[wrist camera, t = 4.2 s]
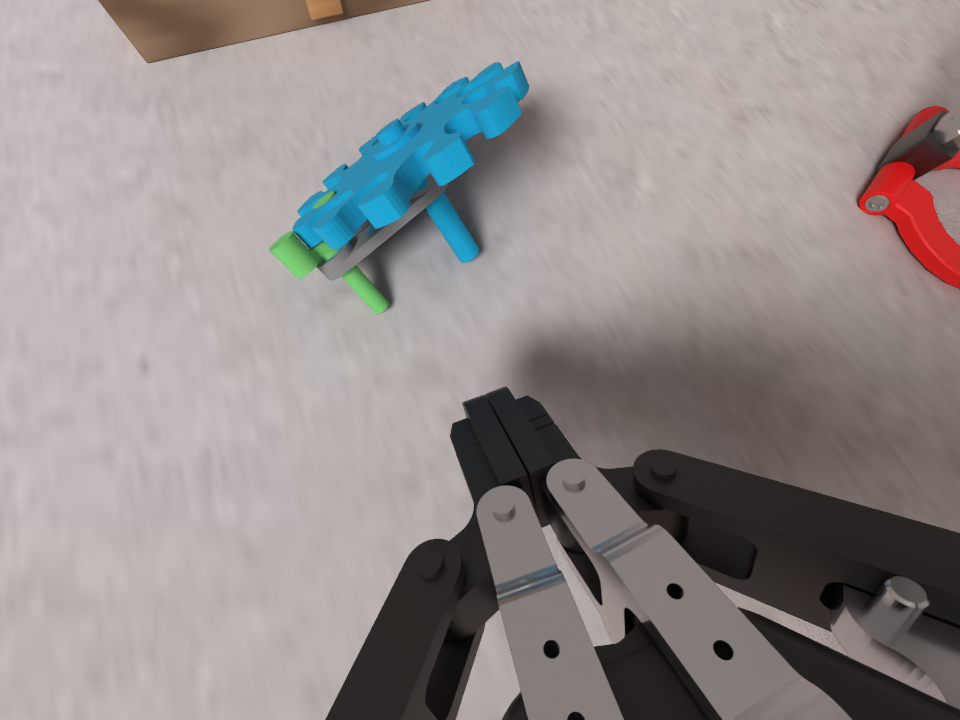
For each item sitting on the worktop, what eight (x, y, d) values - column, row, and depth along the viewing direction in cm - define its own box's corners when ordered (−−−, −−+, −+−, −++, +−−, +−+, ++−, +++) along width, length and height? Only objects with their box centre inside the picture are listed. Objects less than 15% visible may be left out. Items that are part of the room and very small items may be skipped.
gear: (442, 62, 19) (574, 11, 11) (501, 176, 23) (632, 198, 15) (254, 212, 19) (254, 269, 11) (345, 305, 22) (396, 400, 14)
